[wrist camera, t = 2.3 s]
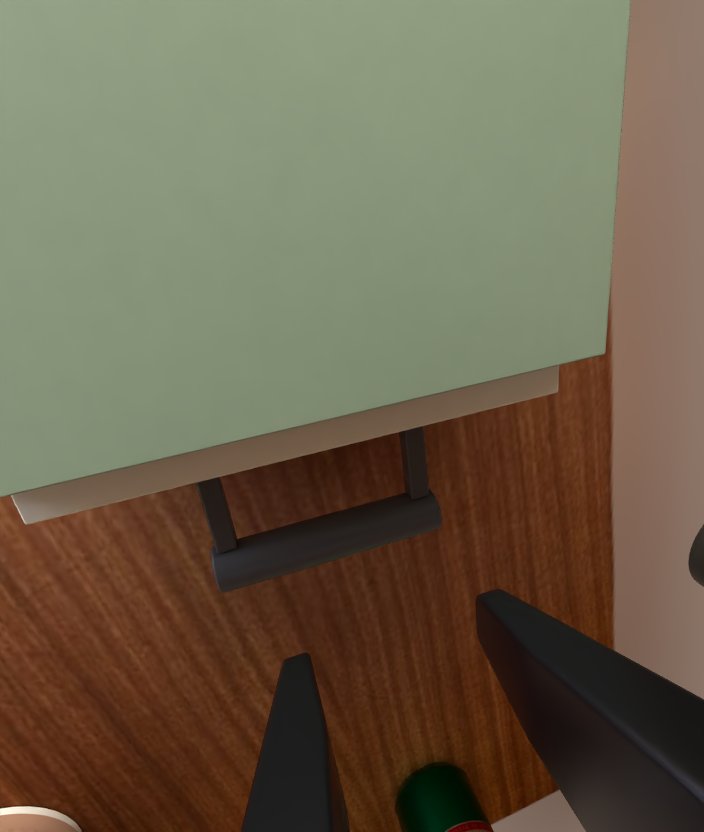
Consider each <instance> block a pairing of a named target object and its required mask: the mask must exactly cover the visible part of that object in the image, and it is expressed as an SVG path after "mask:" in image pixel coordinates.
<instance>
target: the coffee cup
mask: <svg viewBox="0 0 704 832" xmlns="http://www.w3.org/2000/svg"><path fill="white" fill-rule="evenodd" d="M0 832H82V830H81V829H80V828H79V826H78V825H77V824H76V823H75V822H74V821H73V820H71V819H70V818H69V817H67V816H66V815H64V814H62V813H59V812H57V811H54V810H50V809H46V808H40V807H31V806H24V807H8V808H1V809H0Z"/></svg>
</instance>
